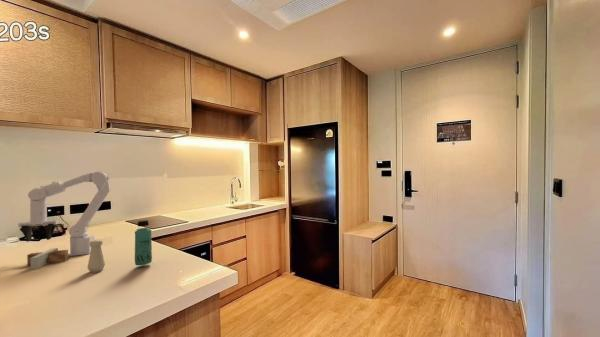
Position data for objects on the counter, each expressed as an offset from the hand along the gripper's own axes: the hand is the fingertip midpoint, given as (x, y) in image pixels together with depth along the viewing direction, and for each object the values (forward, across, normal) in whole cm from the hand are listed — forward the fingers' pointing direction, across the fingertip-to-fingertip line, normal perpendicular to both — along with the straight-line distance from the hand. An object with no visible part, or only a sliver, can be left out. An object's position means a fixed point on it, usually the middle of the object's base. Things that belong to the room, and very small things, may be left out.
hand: (39, 240), depth 126 cm
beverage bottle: (+10, +53, -33) cm, 63 cm away
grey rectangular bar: (+9, +7, -9) cm, 15 cm away
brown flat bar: (+9, +8, -9) cm, 15 cm away
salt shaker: (+10, +35, -31) cm, 47 cm away
